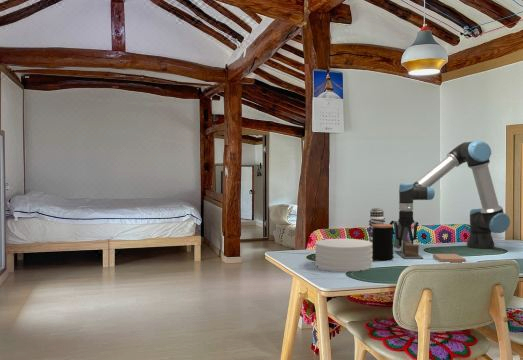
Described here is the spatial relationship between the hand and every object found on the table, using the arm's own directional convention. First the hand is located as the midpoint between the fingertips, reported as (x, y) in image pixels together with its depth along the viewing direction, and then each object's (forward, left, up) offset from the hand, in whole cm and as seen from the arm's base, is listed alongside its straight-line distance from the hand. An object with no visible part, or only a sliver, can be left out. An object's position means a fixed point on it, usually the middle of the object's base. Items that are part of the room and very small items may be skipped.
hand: (405, 252), depth 263 cm
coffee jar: (+16, +15, -1) cm, 22 cm away
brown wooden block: (0, +3, 0) cm, 3 cm away
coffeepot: (-2, -23, -1) cm, 23 cm away
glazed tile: (-17, +12, 0) cm, 21 cm away
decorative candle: (+15, -6, -1) cm, 16 cm away
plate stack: (+38, +32, -1) cm, 50 cm away
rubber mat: (0, +5, -1) cm, 5 cm away
